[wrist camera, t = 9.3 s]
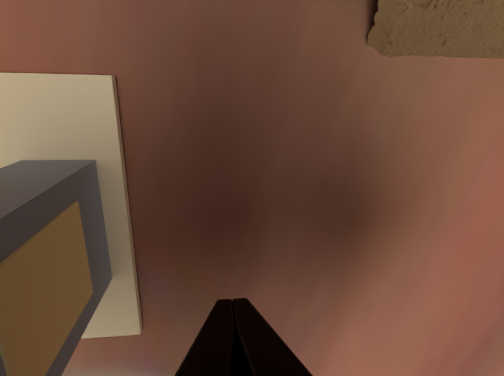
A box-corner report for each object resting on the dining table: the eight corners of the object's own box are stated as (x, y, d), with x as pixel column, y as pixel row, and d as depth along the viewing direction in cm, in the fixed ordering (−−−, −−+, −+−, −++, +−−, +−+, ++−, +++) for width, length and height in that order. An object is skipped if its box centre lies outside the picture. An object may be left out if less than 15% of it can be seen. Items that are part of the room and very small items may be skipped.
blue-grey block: (98, 159, 14) (-96, 281, 5) (114, 278, 15) (-8, 513, 7) (21, 160, 13) (-327, 293, 5) (47, 281, 15) (-168, 534, 7)
